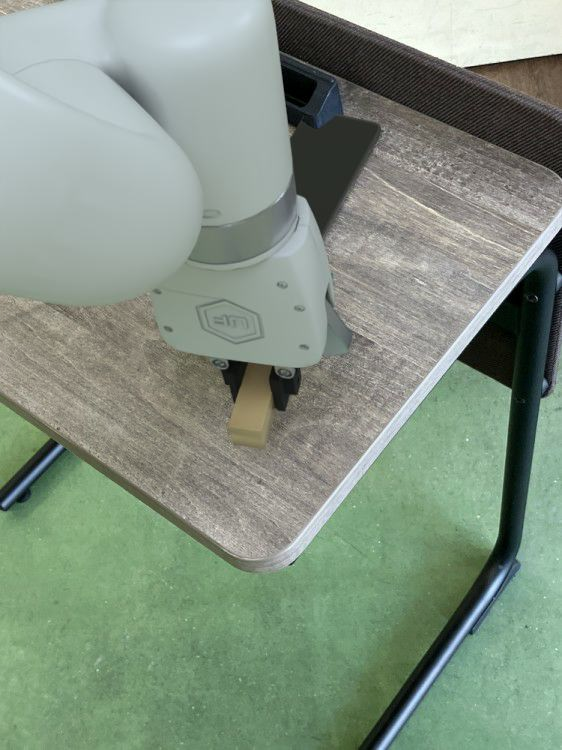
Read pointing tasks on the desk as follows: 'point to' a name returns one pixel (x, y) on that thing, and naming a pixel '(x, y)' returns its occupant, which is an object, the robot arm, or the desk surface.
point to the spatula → (253, 408)
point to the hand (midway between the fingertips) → (265, 389)
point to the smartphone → (330, 162)
